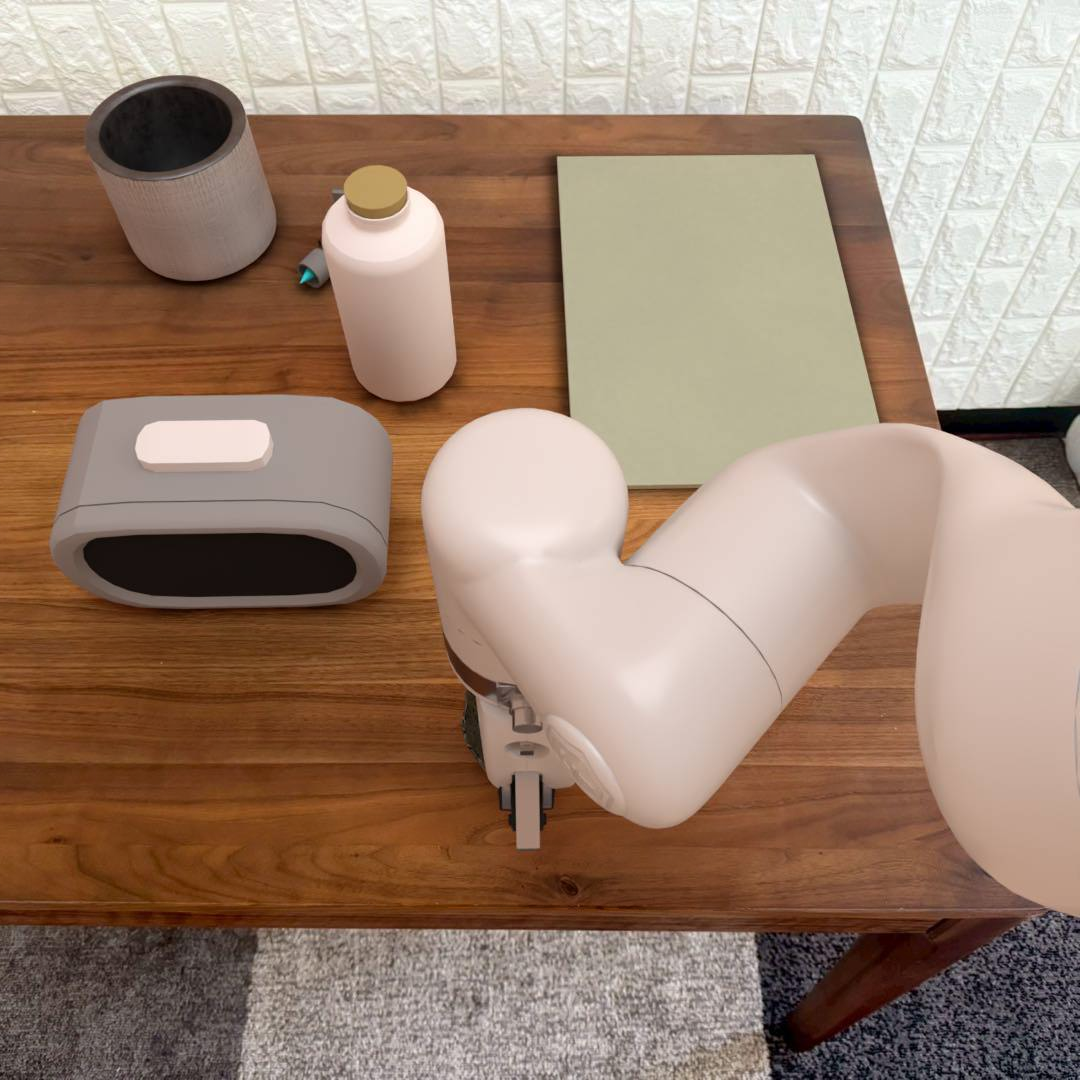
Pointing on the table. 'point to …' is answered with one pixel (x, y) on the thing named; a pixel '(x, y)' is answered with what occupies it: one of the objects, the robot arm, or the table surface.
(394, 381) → the potion bottle
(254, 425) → the alarm clock
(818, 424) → the mat
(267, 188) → the planter
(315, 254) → the toy gun
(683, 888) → the table surface
